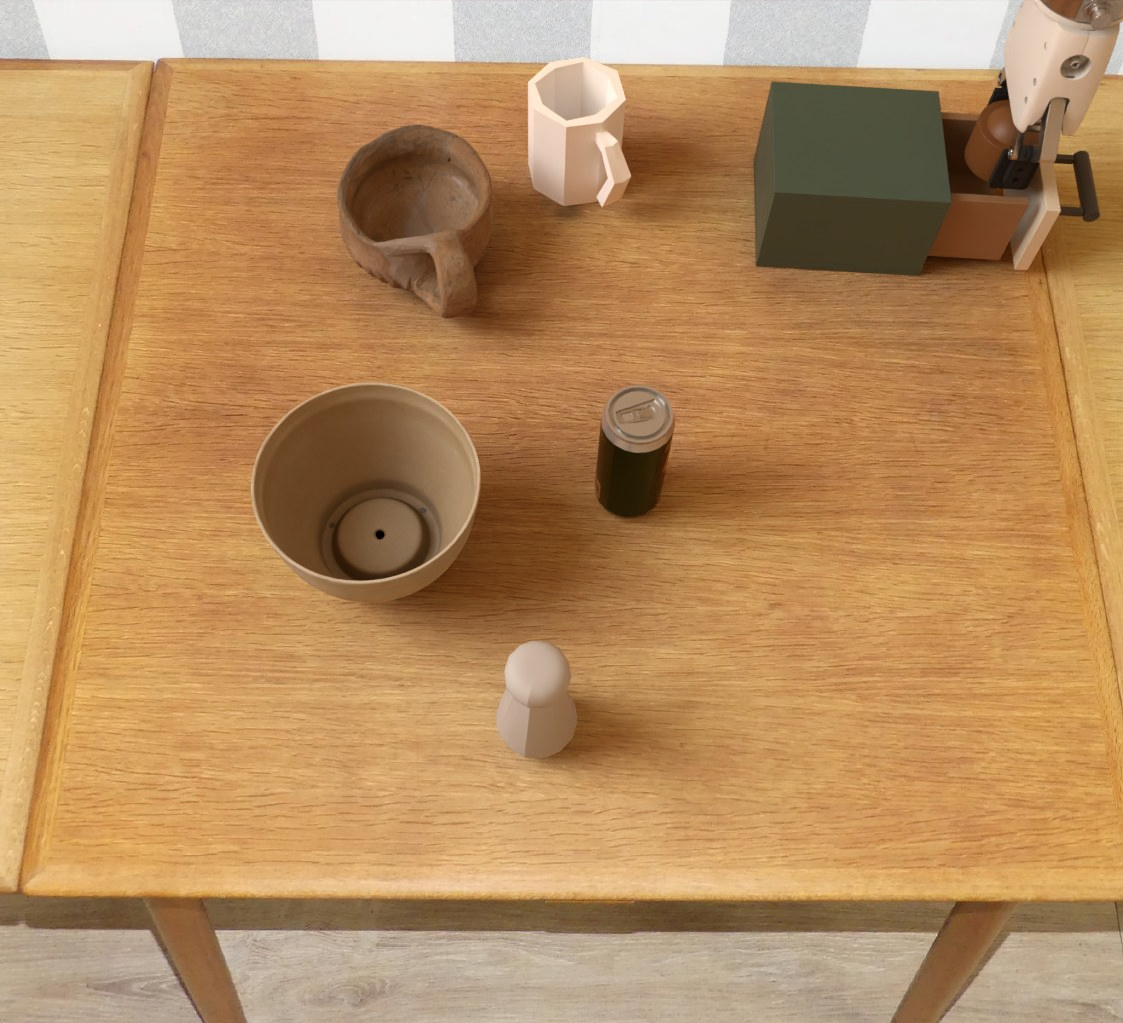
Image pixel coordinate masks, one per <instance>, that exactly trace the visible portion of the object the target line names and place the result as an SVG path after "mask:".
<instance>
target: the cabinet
mask: <svg viewBox="0 0 1123 1023" xmlns="http://www.w3.org/2000/svg"><path fill="white" fill-rule="evenodd" d="M941 107H942V106H941V99H940V91H938V90H925V89H908V88H907V89H905V88H890V87H872V86H871V87H870V86H857V85H856V86H855V85H841V84H840V85H837V84H821V83H804V82H803V83H802V82H788V81H787V82H785V81H771V82H770V87H769V90H768V95H767V99H766V104H765V108H764V113H763V118H762V122H761V126H760V130H759V134H758V135H759V136H758V138H757V144H756V149H755V152H754V157H753V187H754V188H753V191H754V192H753V193H754V195H753V196H754V199H753V200H754V244H755V249H754V250H755V267H763V268H764V267H766V268H780V269H781V268H783V269H796V270H797V269H799V270H815V271H830V272H831V271H834V272H846V273H847V272H848V273H849V272H850V273H864V274H865V273H867V274H880V275H881V274H883V275H900V276H915V277H916V276H917V277H920V274H921V272H922V269H923V267H924V265H925V263H926V261H927V258H928V257H929V256H928V254H929V252H930V250H931V247H932V245H933V243H934V241H935V238H936V236H937V234H938V232H939V229H940V227H941V225H942V223H943V220H944V218H945V216H946V214H947V211H948V209H949V207H950V205H951V203H952V201H951V192H950V184H949V175H948V167H947V158H946V149H945V141H944V132H943V123H942V115H941V112H942V108H941Z"/></svg>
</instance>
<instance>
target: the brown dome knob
mask: <svg viewBox="0 0 1123 1023" xmlns="http://www.w3.org/2000/svg"><path fill="white" fill-rule="evenodd" d="M1039 120H1042V117H1041V118H1040V119H1039ZM1015 127H1016V126H1015V125H1014V122H1013V118H1012V113H1011V107H1010V100H1001V101H997V102H994V103H992V104H990V105H988V106H987V105H986V107H984V108H983V109H982V111H981V112H980V116H979V118H978V120H977V123H976V125H975V127H974V129H973V132H972V134H971V136H970V139H969V141H968V143H967V145H966V148H965V153H964V155H965V161H966V163H967V165H968V167H969V168H970V170H971V171H972V172H973V173H974V174H975V175H976V176H978V177H979V178H981V179H982V180H984V181H987V182H989V179H990V177H991V175H992V173H993V170H994V168H995V166H996V164H997V162H998V160H999V158H1000V156H1001V154H1002V152H1003V150H1004V149H1009V147H1010V144H1011V141H1012V137H1013V134H1014V130H1015ZM1038 138H1039V132H1028V131H1026V134H1025V137H1024V140H1023V143H1022V145H1030V146H1036V145H1037V142H1038Z"/></svg>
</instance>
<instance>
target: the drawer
mask: <svg viewBox="0 0 1123 1023" xmlns="http://www.w3.org/2000/svg"><path fill="white" fill-rule="evenodd" d="M980 114H981V113H980ZM980 114H978V113H964V112H963V113H962V112H943V111H941V115H942V123H943V132H944V141H945V149H946V158H947V167H948V175H949V184H950V192H951V201H952V203H951V205H950V207H949V209H948V211H947V214H946V216H945V218H944V220H943V223H942V225H941V227H940V229H939V232H938V234H937V236H936V238H935V241H934V243H933V245H932V247H931V250H930V252H929V254H928V256H927V257H942V258H958V259H975V260H992V261H1000V260H1001V258H1002V256H1003V254H1004V253H1005V251H1006V249H1007V246H1008V244H1009V243H1010V248H1011V256H1012V262H1013V269H1014V270H1016V271H1017V270H1018V271H1019V270H1020V271H1028V270H1029V268H1030V267H1031V264H1033V262H1034V260H1035V258H1036V256H1037V254H1038V252H1039V250H1040V249H1041V247H1042V246H1043V243H1044V242H1045V240H1046V239H1047V236H1048V234H1049V233H1050V231H1051V230H1052V228H1053V226H1054V224H1055V222H1056V221H1057V219H1058V217H1059V216H1060V217H1073V218H1074V217H1075V218H1082V220H1083V222H1085V223H1093V222H1096V221H1097V220H1099V218H1100V217H1101V212H1100V207H1099V203H1098V202H1099V201H1098V196H1097V195H1098V194H1097V190H1096V186H1095V180H1094V175H1093V170H1092V165H1091V158H1090V154H1089V152H1088V151H1086V150H1078V151H1076V152H1074V153H1073V154H1063V153H1057V156H1056V160H1055V162H1054V163H1040V165H1039V166H1038V168H1037V170H1036V172H1035V174H1034V176H1033V178H1032V180H1031V182H1030V184H1029V185H1028V187H1027V188H1026V189H1024V190H1017V189H1002V193H1003V195H995V189H994V188H991V187H990V186H989V182H987V181H984V180H982V179H981V178H979V177H978V176H976V175H975V174H974V173H973V172H972V171H971V170H970V168H969V167H968V165H967V163H966V161H965V155H964V153H965V148H966V145H967V143H968V141H969V139H970V136H971V134H972V132H973V129H974V127H975V125H976V123H977V120H978V118H979V116H980ZM1054 164H1059V165H1072V167H1073V168H1072V169H1073V173H1074V178H1075V184H1076V189H1077V195H1078V200H1079V206H1064V205H1061V204H1060V203H1061V202H1060V197H1059V190H1058V185H1057V180H1056V172H1055V168H1054Z"/></svg>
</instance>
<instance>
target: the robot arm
mask: <svg viewBox="0 0 1123 1023" xmlns="http://www.w3.org/2000/svg"><path fill="white" fill-rule="evenodd" d="M1122 22H1123V0H1023V1H1022V2H1021V5H1020V7H1019V9H1018V11H1017V13H1016V16H1015V18H1014V20H1013V21H1012V25H1011V27H1010V30H1009V32H1008V34H1007V37H1006V41H1005V44H1004V47H1003V48H1004V49H1003V64H1004V66H1003V68H1002V69H1001V70H1000V71H999V72H998V76H997V81H996V82H997V83H996V84H997V87H994V89H993V91H992V93H991V96H990V98H989V100H988V102H987V104H986V107H987V106H988V105H990V104H992V103H994V102H997V101H1001V100H1010V107H1011V113H1012V118H1013V122H1014V125H1015V126H1016V127H1015V130H1014V134H1013V137H1012V141H1011V144H1010V147H1009V149H1004V150H1003V152H1002V154H1001V156H1000V158H999V160H998V162H997V164H996V166H995V168H994V170H993V173H992V175H991V177H990V179H989V186H990V187H991V188H993V189H1001V190H1003V189H1017V190H1024V189H1026V188H1027V187H1028V185H1029V184H1030V182H1031V180H1032V178H1033V176H1034V174H1035V172H1036V170H1037V168H1038V166H1039V165H1040V163H1053V164H1055V163H1054V162H1055V160H1056V156H1057V154H1058V149H1059V143H1060V138H1061V135H1062V136H1063V137H1064V136H1065V137H1066V136H1068V137H1072V136H1074V135H1075V134H1076V133H1077V131H1078V130H1079V128H1080V126H1081V125H1082V123H1083V121H1084V119H1085V116H1086V115H1087V112H1088V111H1089V108H1090V106H1091V105H1092V101H1093V100H1094V99H1095V96H1096V94H1097V92H1098V89H1099V88H1100V85H1101V83H1102V81H1103V78H1104V76H1105V74H1106V71H1107V68H1108V66H1109V63H1110V61H1111V58H1112V55H1113V53H1114V50H1115V47H1116V43H1117V41H1118V37H1119V35H1120V29H1121V28H1120V27H1121V23H1122ZM1041 117H1042V120H1039V119H1040V118H1041ZM1026 131H1028V132H1039V138H1038V142H1037V145H1036V146H1030V145H1022V143H1023V140H1024V137H1025V134H1026Z"/></svg>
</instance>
